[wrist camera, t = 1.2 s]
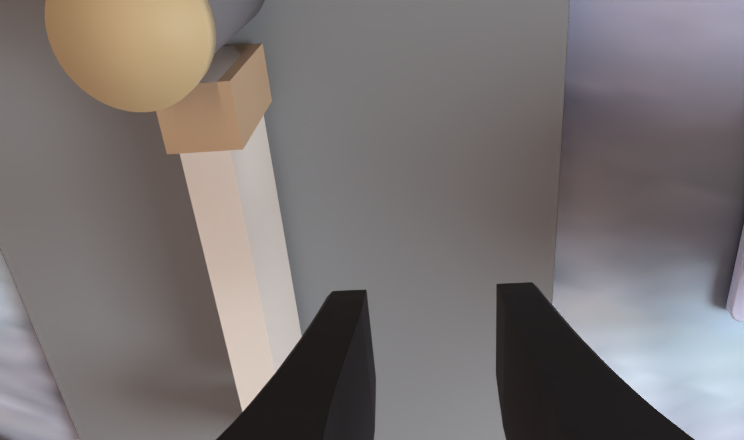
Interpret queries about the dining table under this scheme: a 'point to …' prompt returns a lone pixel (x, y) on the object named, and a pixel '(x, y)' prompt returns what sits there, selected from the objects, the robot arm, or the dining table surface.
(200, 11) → the gate frame
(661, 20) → the dining table surface
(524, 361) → the robot arm
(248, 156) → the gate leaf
